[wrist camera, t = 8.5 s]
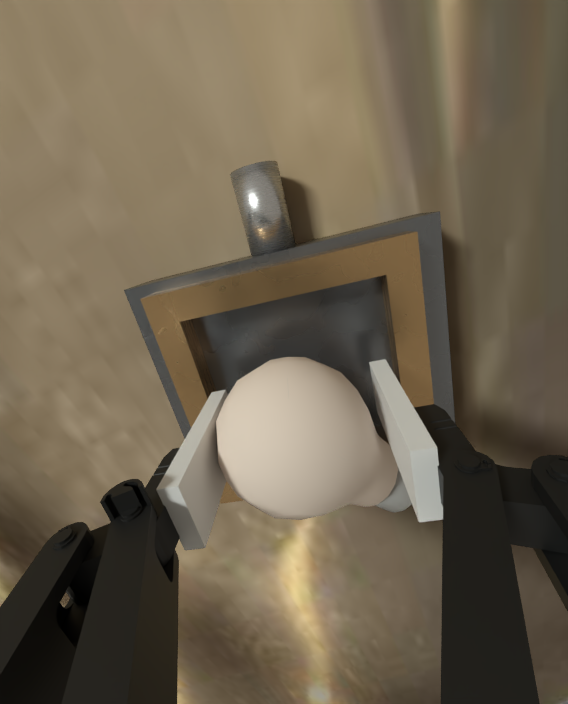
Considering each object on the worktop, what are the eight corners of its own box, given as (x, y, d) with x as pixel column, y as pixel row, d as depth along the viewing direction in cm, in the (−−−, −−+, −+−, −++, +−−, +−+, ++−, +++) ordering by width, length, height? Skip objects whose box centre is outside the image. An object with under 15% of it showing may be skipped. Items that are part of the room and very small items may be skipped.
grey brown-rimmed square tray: (230, 494, 26) (215, 547, 22) (123, 212, 19) (70, 208, 15) (442, 464, 23) (471, 515, 19) (411, 129, 16) (447, 96, 12)
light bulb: (496, 534, 13) (288, 431, 8) (369, 578, 16) (166, 521, 12) (434, 407, 18) (282, 298, 13) (346, 459, 21) (198, 386, 17)
